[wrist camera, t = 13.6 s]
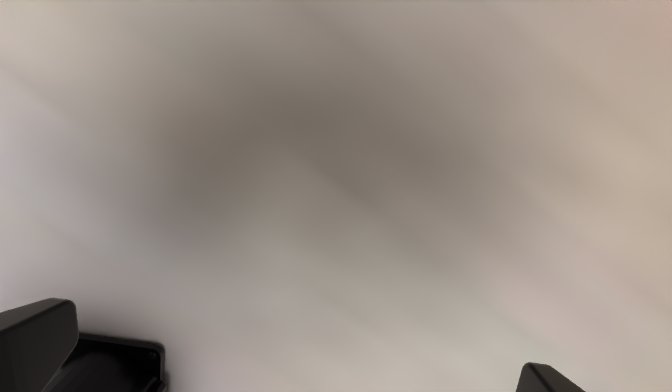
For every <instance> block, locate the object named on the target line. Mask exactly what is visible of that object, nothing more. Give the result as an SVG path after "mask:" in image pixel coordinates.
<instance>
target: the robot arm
mask: <svg viewBox="0 0 672 392" xmlns="http://www.w3.org/2000/svg"><path fill="white" fill-rule="evenodd" d="M151 352H152V353H154V354H155V355H153V354H152V353H151ZM0 392H167V385H166V382H165V381H164V350H163V348H162V347H161V346H159V345H157V344H151V343H144V342H137V341H130V340H123V339H116V338H109V337H102V336H95V335H88V334H81V333H79V330H78V321H77V313H76V306H75V304H74V302H72V301H71V300H66V299H59V298H49V299H45V300H42V301H38V302H35V303H32V304H28V305H25V306H21V307H18V308H15V309H11V310H8V311H4V312H1V313H0ZM516 392H585V391H584V390H582V389H581V388H580V387H578V386H577V385H576V384H574V383H573V382H571V381H570V380H569V379H567V378H566V377H565V376H563V375H562V374H561V373H559V372H558V371H557V370H555V369H554V368H552V367H551V366H549V365H546V364H539V363H531V362H528V363H526V364H525V365H524V366H523V368H522V371H521V375H520V378H519V382H518V386H517V389H516Z"/></svg>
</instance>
